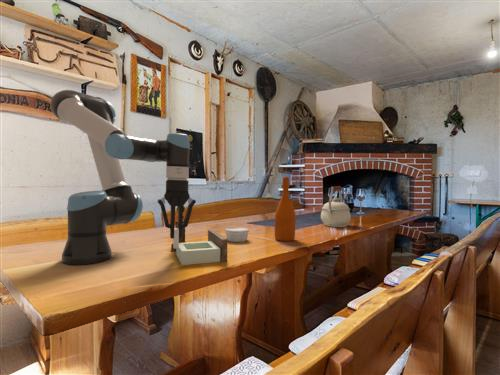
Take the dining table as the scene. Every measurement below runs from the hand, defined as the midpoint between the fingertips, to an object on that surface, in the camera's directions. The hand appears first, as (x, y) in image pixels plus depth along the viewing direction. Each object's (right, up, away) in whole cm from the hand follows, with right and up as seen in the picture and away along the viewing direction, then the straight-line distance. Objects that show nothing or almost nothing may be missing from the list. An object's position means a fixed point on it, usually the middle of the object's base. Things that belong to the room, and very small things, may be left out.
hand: (175, 247), depth 102 cm
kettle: (+79, -4, +85) cm, 116 cm away
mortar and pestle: (-2, -4, +15) cm, 16 cm away
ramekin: (+20, -4, +36) cm, 42 cm away
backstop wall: (+13, -5, +8) cm, 16 cm away
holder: (+7, -4, +2) cm, 9 cm away
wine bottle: (+42, -4, +39) cm, 58 cm away
